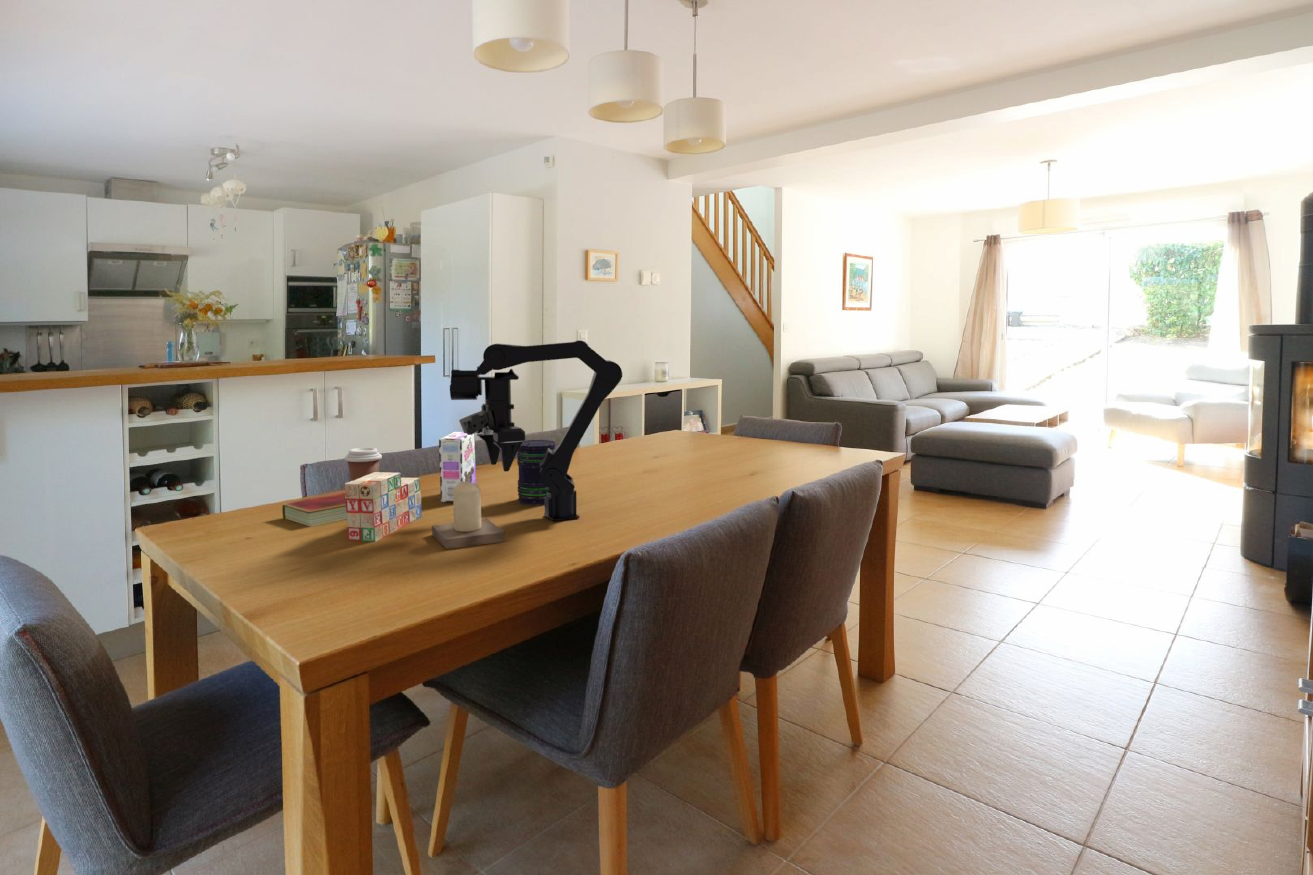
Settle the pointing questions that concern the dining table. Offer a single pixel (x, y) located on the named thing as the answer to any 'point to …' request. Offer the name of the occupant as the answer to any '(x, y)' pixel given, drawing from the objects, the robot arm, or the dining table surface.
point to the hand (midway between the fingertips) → (499, 467)
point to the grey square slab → (468, 535)
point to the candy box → (456, 462)
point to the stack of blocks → (381, 505)
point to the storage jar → (532, 471)
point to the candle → (467, 507)
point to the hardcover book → (316, 510)
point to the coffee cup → (362, 462)
